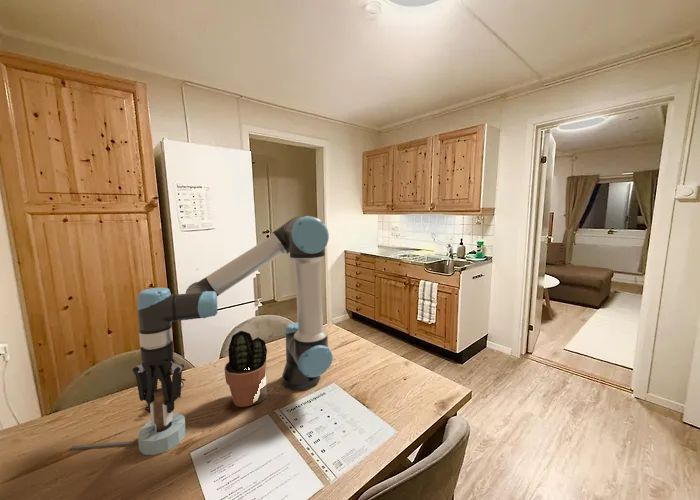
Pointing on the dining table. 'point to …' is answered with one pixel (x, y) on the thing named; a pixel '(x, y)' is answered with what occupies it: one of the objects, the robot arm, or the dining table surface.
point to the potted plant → (241, 357)
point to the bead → (161, 436)
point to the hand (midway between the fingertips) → (162, 421)
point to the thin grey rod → (102, 445)
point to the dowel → (159, 410)
